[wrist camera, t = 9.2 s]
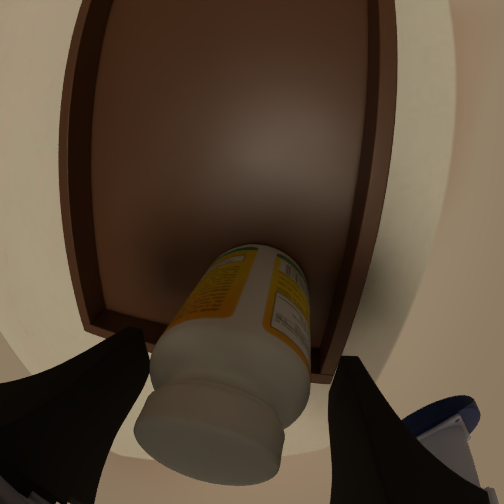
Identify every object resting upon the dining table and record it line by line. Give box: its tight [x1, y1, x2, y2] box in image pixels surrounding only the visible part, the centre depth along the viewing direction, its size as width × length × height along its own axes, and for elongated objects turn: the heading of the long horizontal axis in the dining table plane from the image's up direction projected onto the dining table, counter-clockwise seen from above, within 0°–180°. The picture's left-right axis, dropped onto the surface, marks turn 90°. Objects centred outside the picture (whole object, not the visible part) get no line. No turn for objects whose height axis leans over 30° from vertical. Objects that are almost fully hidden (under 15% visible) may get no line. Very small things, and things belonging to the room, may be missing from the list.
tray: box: [59, 0, 397, 384], centre depth 10 cm, size 30×16×3 cm, turn 175°
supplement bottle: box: [134, 244, 311, 486], centre depth 10 cm, size 5×5×10 cm
